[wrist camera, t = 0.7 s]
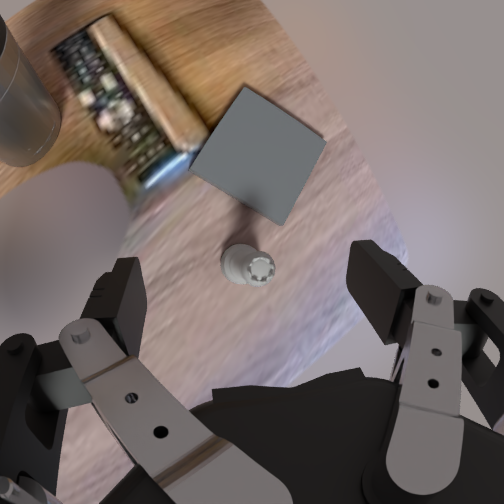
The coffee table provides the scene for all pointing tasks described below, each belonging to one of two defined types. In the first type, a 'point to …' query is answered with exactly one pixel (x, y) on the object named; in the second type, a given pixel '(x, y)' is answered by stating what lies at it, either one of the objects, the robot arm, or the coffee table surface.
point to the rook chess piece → (247, 265)
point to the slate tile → (259, 156)
